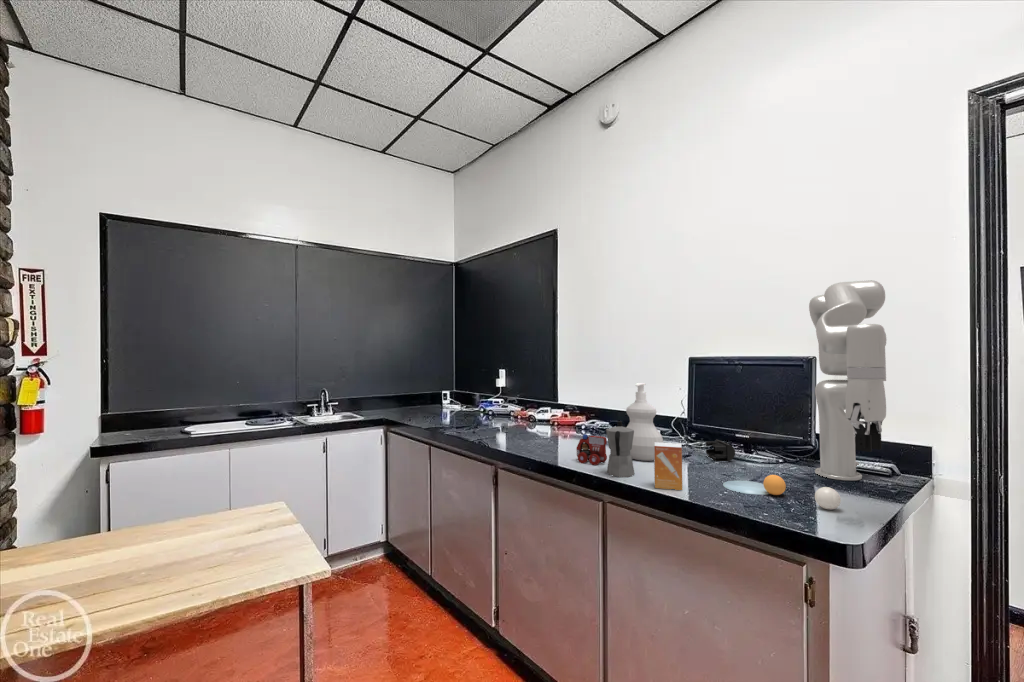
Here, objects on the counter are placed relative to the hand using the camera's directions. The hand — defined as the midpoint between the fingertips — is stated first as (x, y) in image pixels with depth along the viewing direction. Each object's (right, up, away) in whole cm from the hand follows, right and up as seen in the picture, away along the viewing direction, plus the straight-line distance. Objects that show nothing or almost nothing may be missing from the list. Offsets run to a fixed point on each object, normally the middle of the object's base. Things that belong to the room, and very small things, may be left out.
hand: (868, 448), depth 110 cm
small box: (-39, -19, +29) cm, 52 cm away
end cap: (-7, -20, +64) cm, 67 cm away
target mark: (-15, -18, +27) cm, 36 cm away
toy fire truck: (-57, -20, +61) cm, 85 cm away
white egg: (-4, -15, +8) cm, 17 cm away
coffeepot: (-50, -19, +43) cm, 69 cm away
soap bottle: (-37, -20, +65) cm, 78 cm away
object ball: (-11, -15, +20) cm, 28 cm away
